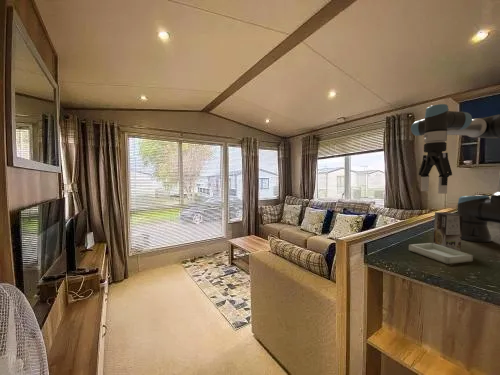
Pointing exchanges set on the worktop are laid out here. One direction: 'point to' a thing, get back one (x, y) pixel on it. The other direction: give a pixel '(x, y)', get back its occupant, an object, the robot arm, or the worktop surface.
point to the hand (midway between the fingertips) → (432, 192)
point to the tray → (441, 253)
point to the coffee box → (448, 230)
